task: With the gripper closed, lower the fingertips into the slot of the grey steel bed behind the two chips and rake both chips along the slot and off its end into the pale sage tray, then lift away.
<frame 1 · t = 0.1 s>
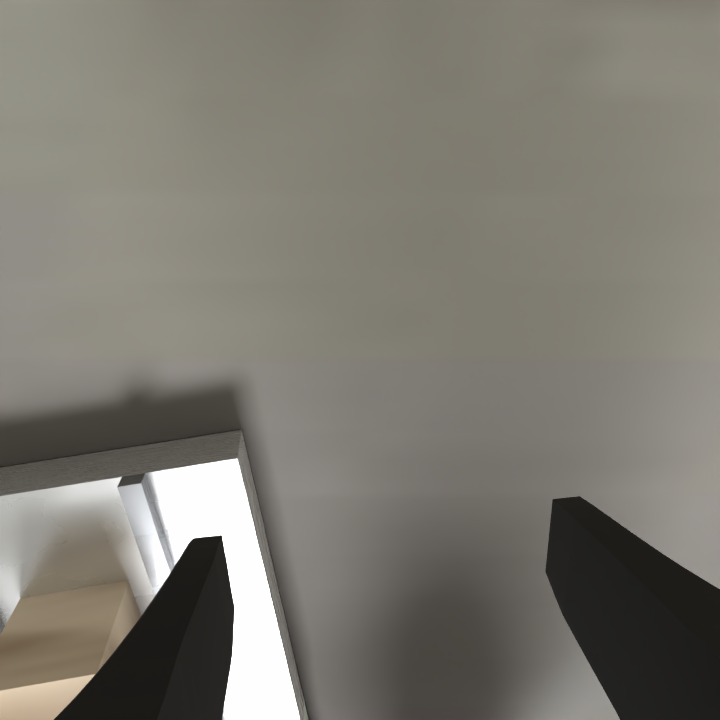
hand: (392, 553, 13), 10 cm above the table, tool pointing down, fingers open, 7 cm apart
slotted bed: (112, 607, 25), on the table
beech chip: (90, 628, 23), point 2 cm above the table, touching slotted bed
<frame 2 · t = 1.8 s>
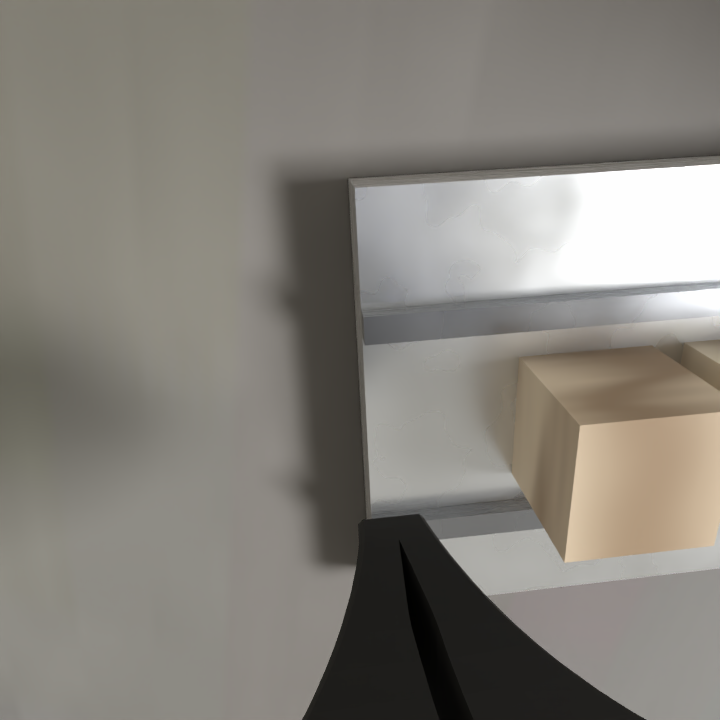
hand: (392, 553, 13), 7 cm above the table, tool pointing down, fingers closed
slotted bed: (581, 380, 20), on the table
beech chip: (579, 411, 18), point 2 cm above the table, touching slotted bed
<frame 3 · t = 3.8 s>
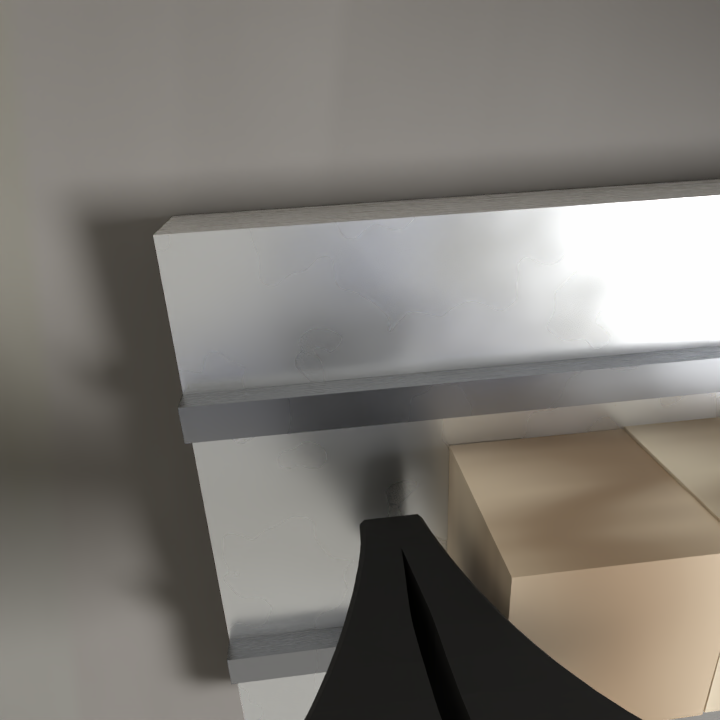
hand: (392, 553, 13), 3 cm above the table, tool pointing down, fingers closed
slotted bed: (504, 461, 16), on the table
birch chip: (693, 490, 14), point 2 cm above the table, touching slotted bed
beech chip: (530, 510, 14), point 2 cm above the table, touching gripper, slotted bed
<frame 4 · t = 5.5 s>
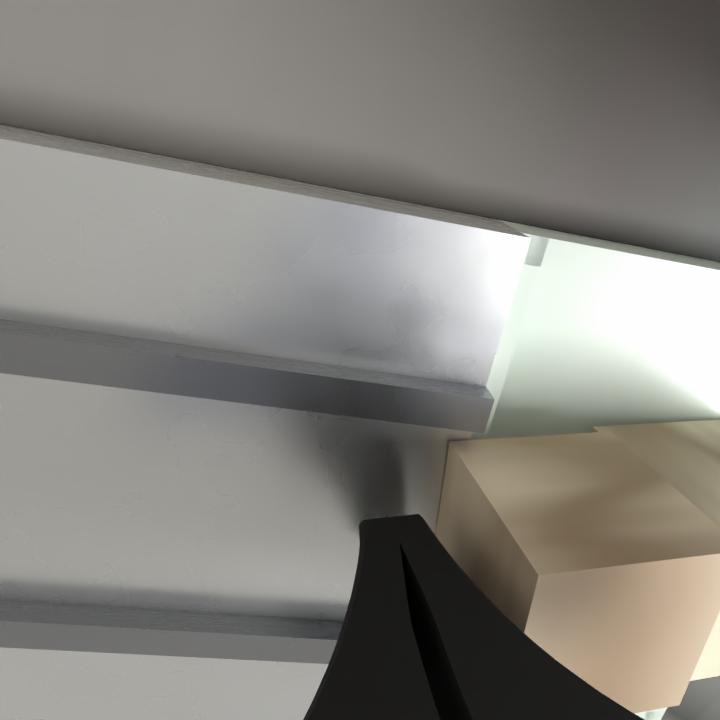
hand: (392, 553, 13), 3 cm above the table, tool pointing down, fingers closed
chip tray: (578, 497, 17), on the table
slotted bed: (131, 449, 15), on the table
birch chip: (623, 546, 14), point 3 cm above the table, tilted 97°, touching beech chip
beech chip: (516, 507, 14), point 2 cm above the table, tilted 7°, touching birch chip, gripper, slotted bed
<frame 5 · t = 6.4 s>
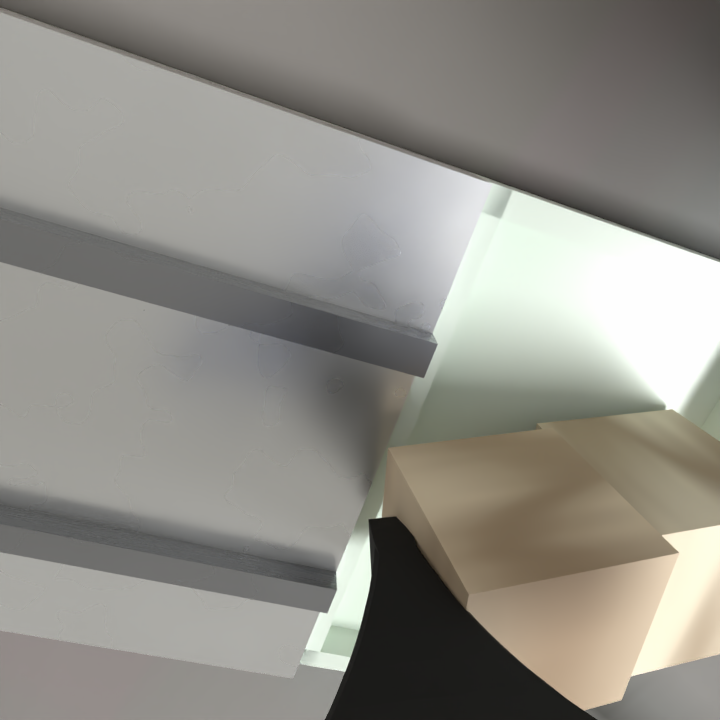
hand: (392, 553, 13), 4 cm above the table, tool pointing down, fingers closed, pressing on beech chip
chip tray: (519, 470, 17), on the table
slotted bed: (74, 359, 14), on the table
birch chip: (567, 545, 13), point 3 cm above the table, tilted 102°, touching beech chip, chip tray
beech chip: (461, 507, 14), point 2 cm above the table, tilted 12°, touching birch chip, gripper
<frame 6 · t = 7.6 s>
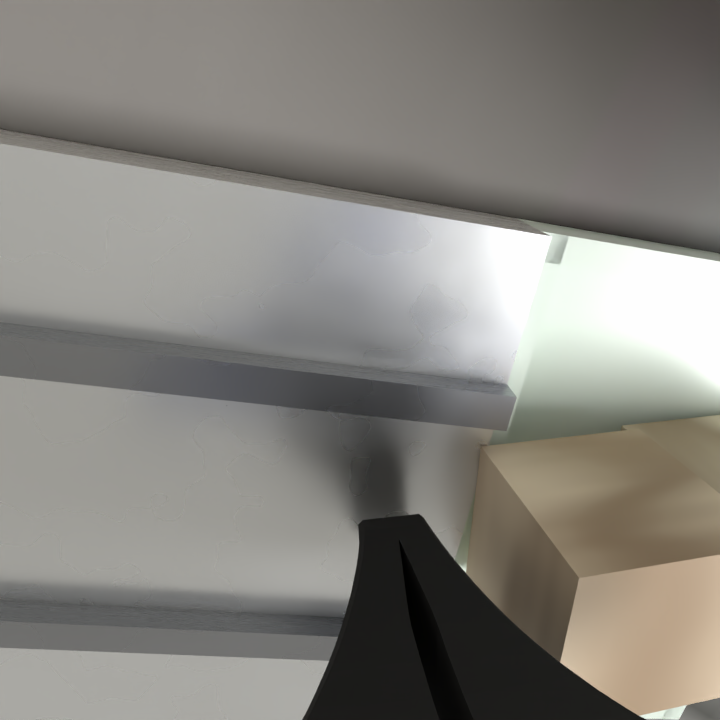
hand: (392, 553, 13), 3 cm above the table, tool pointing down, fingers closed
chip tray: (597, 493, 17), on the table
slotted bed: (154, 452, 15), on the table
birch chip: (658, 543, 14), point 3 cm above the table, tilted 97°, touching beech chip, chip tray
beech chip: (549, 507, 14), point 2 cm above the table, tilted 7°, touching birch chip, slotted bed
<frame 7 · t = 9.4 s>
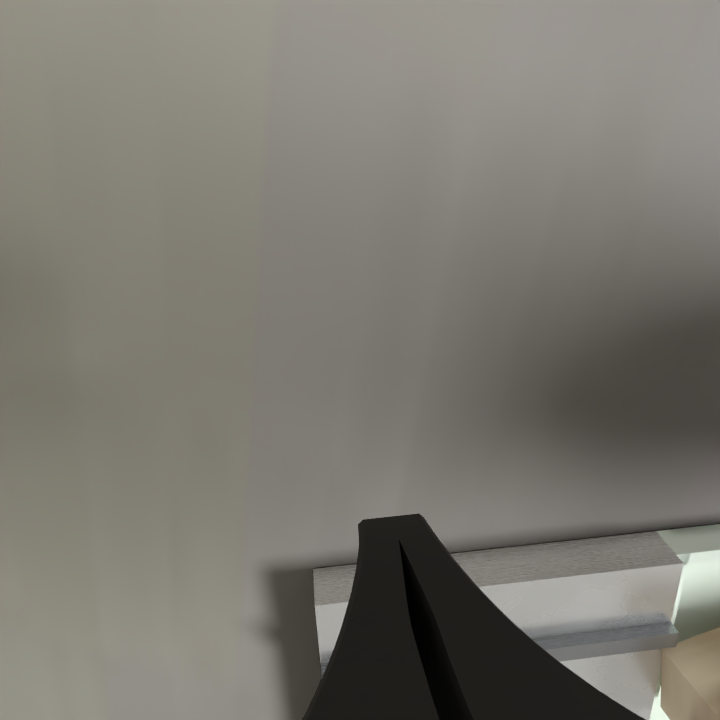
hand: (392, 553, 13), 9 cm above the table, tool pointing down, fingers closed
slotted bed: (482, 666, 28), on the table
beech chip: (700, 663, 27), point 2 cm above the table, tilted 7°, touching birch chip, slotted bed
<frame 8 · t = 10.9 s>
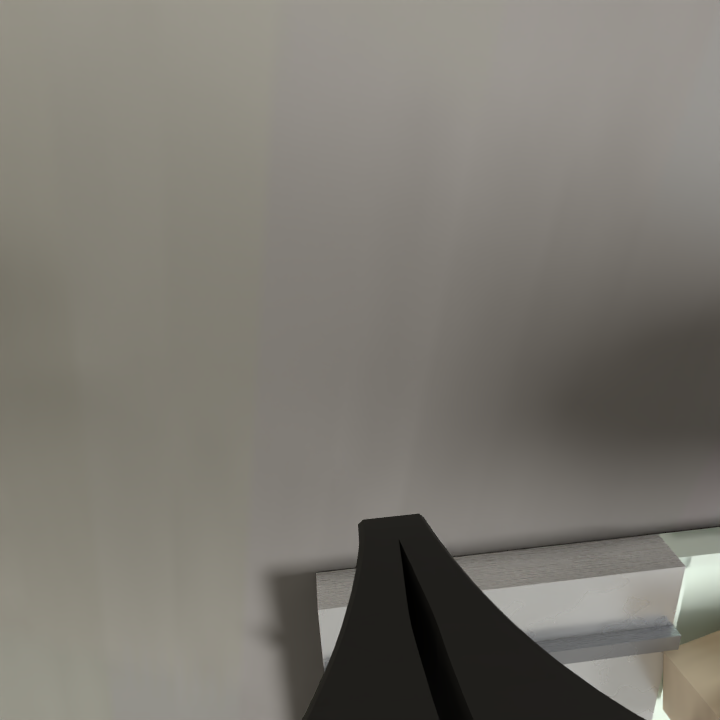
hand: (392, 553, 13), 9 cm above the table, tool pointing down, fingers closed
slotted bed: (485, 668, 28), on the table
beech chip: (702, 666, 27), point 2 cm above the table, tilted 7°, touching birch chip, slotted bed
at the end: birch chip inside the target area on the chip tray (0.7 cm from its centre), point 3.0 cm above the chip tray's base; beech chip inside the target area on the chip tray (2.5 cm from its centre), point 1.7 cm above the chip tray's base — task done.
